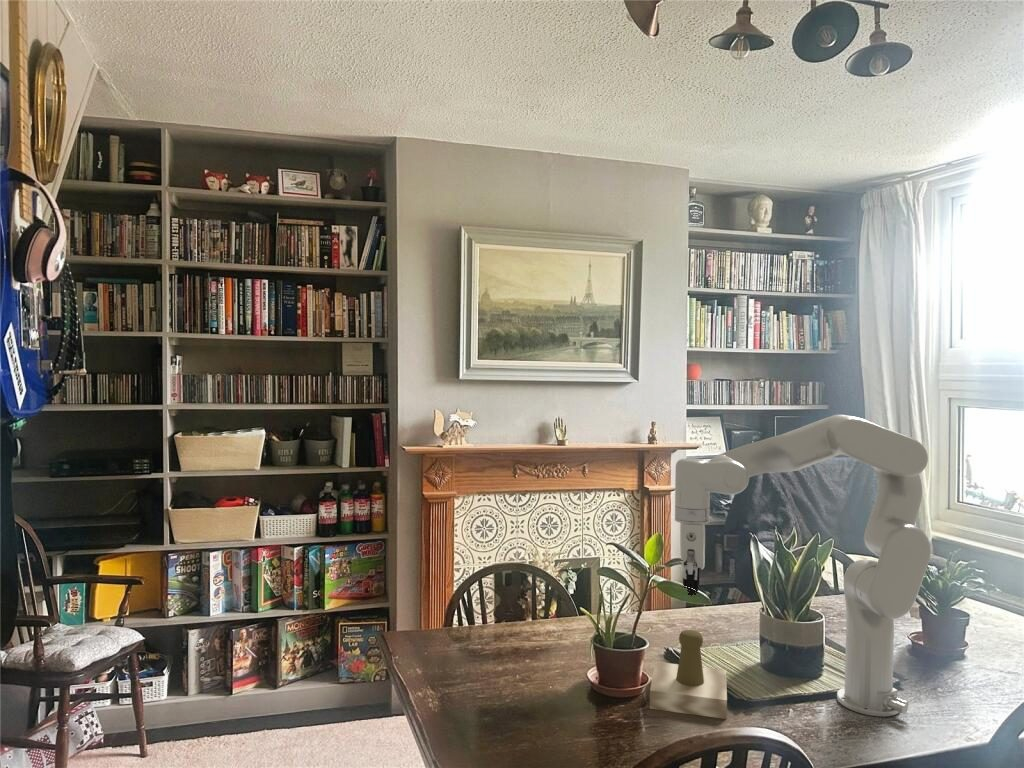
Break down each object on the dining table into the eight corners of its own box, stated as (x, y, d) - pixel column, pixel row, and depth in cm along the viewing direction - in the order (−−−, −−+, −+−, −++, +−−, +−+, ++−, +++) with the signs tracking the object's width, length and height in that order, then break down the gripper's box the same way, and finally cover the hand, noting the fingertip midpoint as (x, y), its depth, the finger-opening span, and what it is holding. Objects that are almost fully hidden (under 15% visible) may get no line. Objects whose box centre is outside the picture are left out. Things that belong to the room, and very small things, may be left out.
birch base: (725, 687, 169) (726, 670, 169) (726, 719, 153) (727, 700, 153) (655, 678, 173) (655, 661, 173) (649, 708, 158) (649, 690, 157)
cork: (704, 687, 159) (705, 637, 159) (676, 684, 160) (677, 635, 160) (703, 676, 165) (704, 628, 165) (676, 673, 166) (677, 625, 166)
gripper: (709, 523, 153) (708, 604, 153) (710, 508, 169) (709, 581, 170) (672, 521, 155) (671, 601, 155) (677, 506, 171) (676, 578, 172)
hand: (691, 590), depth 163 cm, fingers open, 9 cm apart
